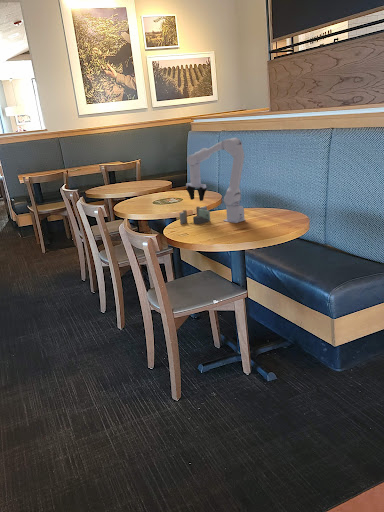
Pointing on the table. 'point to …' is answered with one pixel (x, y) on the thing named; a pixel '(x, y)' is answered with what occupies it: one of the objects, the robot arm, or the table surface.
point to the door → (204, 213)
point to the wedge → (200, 220)
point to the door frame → (184, 214)
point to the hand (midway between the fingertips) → (196, 200)
